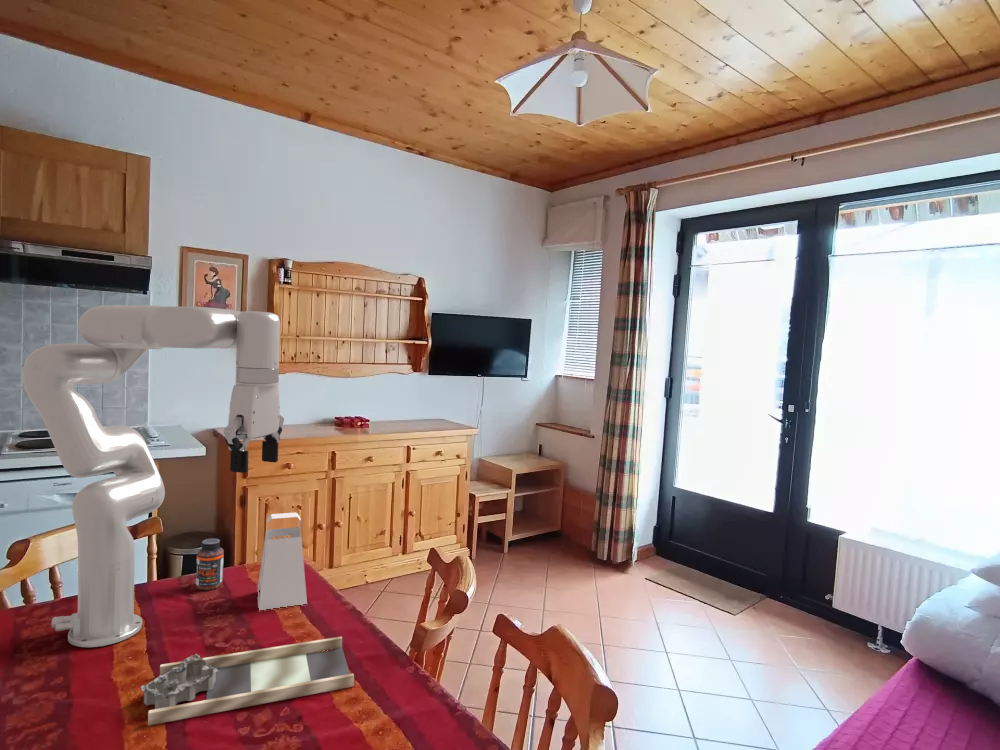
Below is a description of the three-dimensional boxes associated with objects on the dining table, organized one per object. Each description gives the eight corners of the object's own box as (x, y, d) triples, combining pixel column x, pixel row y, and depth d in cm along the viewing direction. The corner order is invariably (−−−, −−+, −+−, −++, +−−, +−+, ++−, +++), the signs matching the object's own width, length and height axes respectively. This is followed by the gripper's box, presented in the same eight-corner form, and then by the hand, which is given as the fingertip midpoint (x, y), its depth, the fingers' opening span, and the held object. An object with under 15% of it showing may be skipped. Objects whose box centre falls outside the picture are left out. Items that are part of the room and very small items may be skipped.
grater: (257, 592, 140) (259, 510, 139) (302, 586, 145) (305, 507, 144) (258, 611, 131) (260, 524, 130) (307, 604, 135) (309, 520, 134)
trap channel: (148, 725, 92) (148, 713, 92) (160, 675, 105) (160, 664, 105) (353, 686, 105) (354, 675, 104) (341, 646, 118) (341, 636, 118)
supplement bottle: (194, 592, 138) (195, 546, 138) (196, 582, 144) (197, 538, 143) (222, 589, 141) (223, 543, 140) (223, 579, 146) (224, 535, 146)
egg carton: (199, 672, 107) (200, 650, 106) (222, 687, 102) (223, 664, 102) (137, 700, 98) (137, 677, 97) (159, 718, 93) (159, 693, 93)
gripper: (266, 374, 119) (263, 456, 120) (208, 378, 102) (206, 474, 103) (299, 376, 117) (297, 459, 118) (247, 381, 100) (244, 478, 101)
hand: (255, 466), depth 111 cm, fingers open, 9 cm apart
